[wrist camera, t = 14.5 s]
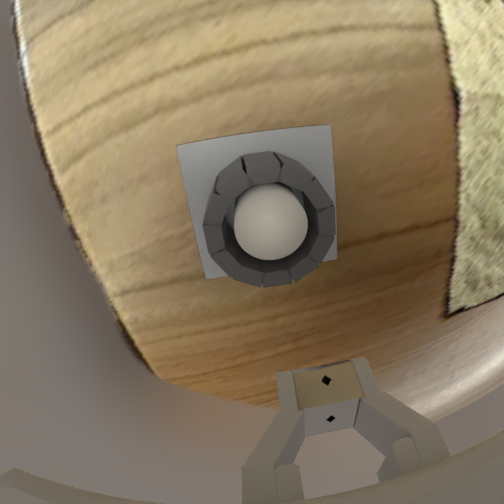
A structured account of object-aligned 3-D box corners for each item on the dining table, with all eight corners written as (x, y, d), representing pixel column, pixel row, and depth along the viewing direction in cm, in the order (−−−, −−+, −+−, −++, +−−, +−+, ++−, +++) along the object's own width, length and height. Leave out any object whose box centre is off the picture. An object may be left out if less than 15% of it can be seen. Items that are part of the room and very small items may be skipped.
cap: (290, 170, 24) (302, 184, 20) (300, 227, 26) (311, 252, 22) (228, 183, 24) (226, 200, 20) (241, 239, 26) (242, 266, 22)
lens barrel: (329, 124, 22) (353, 130, 18) (335, 257, 28) (355, 289, 23) (177, 145, 23) (162, 156, 18) (206, 276, 28) (201, 313, 23)
